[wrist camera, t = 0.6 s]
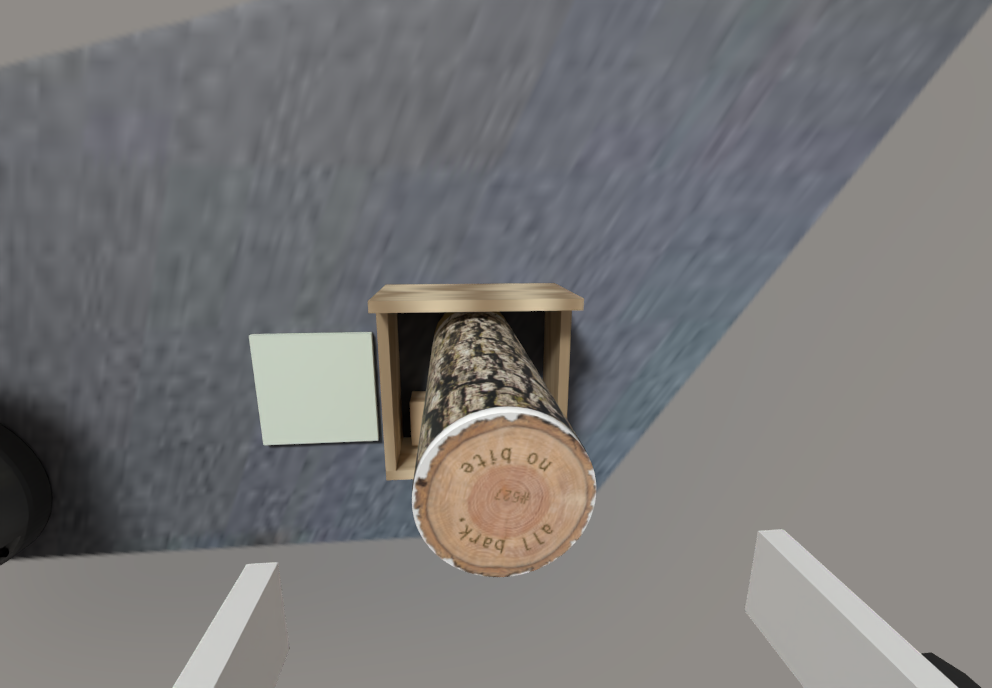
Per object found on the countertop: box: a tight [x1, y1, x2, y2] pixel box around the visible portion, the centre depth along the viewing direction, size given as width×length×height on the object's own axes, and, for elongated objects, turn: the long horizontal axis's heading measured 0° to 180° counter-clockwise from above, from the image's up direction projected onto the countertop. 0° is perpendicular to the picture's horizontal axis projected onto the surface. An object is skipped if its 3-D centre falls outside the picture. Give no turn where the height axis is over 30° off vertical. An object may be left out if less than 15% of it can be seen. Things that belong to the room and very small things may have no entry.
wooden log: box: [412, 311, 596, 577], centre depth 29 cm, size 7×7×25 cm
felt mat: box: [249, 332, 379, 445], centre depth 40 cm, size 10×10×1 cm
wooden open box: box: [368, 283, 584, 480], centre depth 37 cm, size 15×15×9 cm
